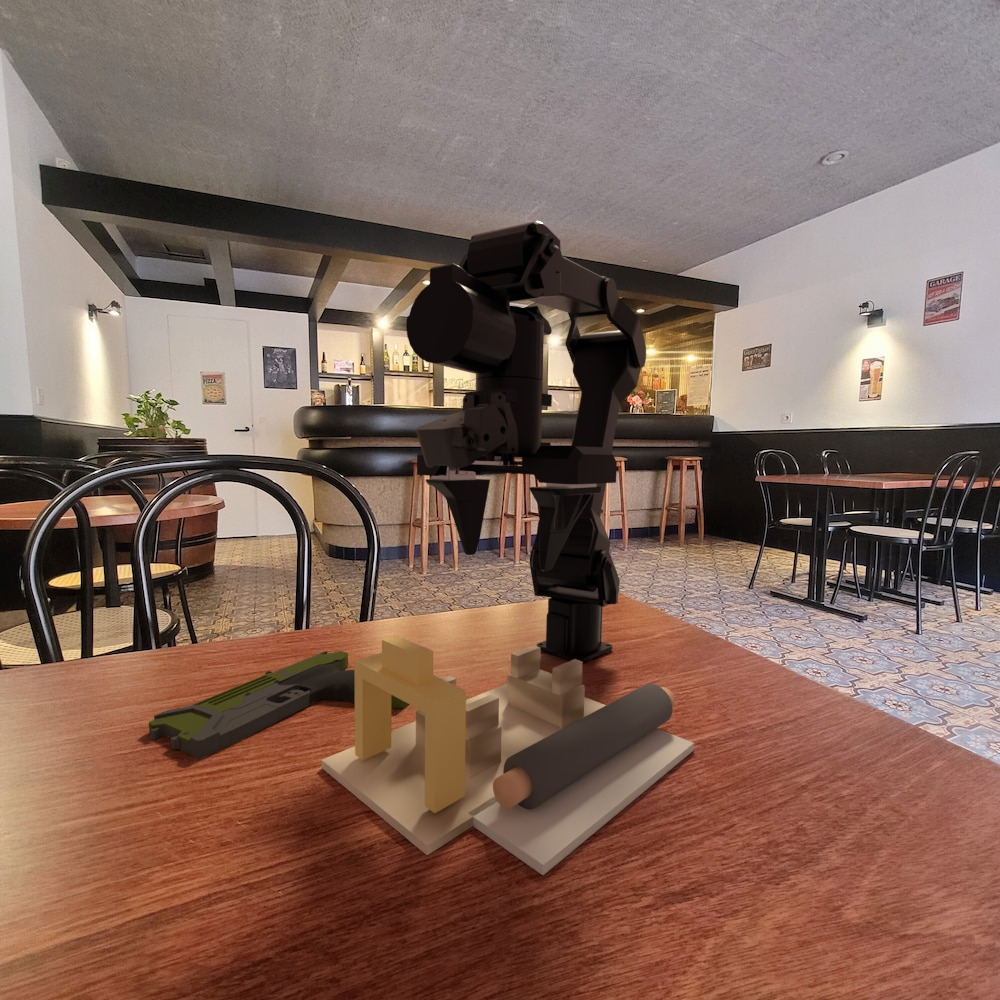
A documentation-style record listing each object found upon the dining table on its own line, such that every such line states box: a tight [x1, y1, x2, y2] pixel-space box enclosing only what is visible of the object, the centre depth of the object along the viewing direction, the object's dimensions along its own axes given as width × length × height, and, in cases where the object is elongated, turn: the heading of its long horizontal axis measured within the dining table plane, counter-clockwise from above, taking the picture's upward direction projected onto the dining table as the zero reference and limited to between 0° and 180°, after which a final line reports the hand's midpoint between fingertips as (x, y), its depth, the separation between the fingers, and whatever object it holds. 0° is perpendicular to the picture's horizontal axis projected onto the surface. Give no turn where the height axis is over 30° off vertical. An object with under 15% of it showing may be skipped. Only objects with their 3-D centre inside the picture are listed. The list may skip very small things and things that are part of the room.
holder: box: [321, 645, 607, 856], centre depth 43 cm, size 22×12×5 cm, turn 136°
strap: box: [354, 635, 467, 813], centre depth 37 cm, size 2×9×9 cm, turn 46°
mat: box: [470, 728, 695, 876], centre depth 38 cm, size 18×6×1 cm, turn 136°
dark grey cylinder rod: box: [493, 683, 675, 809], centre depth 40 cm, size 19×3×3 cm
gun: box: [148, 650, 410, 759], centre depth 48 cm, size 2×19×15 cm
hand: (505, 561), depth 48 cm, fingers open, 9 cm apart
